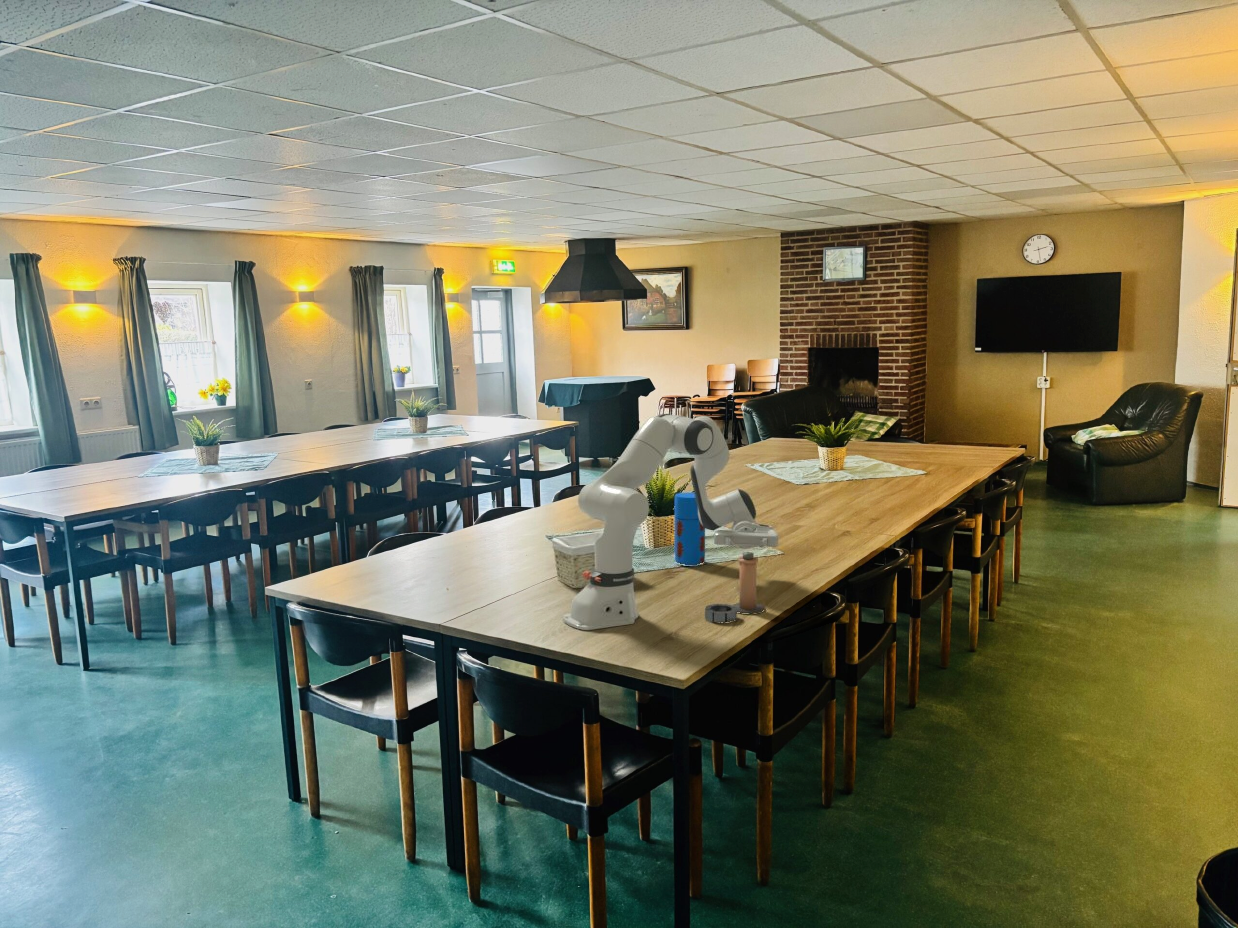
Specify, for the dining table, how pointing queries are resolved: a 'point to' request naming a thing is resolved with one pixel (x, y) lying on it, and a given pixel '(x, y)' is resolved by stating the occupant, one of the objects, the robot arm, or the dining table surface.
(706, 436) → the robot arm
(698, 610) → the dining table surface
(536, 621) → the dining table surface
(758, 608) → the rest pad
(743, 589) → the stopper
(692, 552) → the thermos
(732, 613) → the collar
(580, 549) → the storage basket
